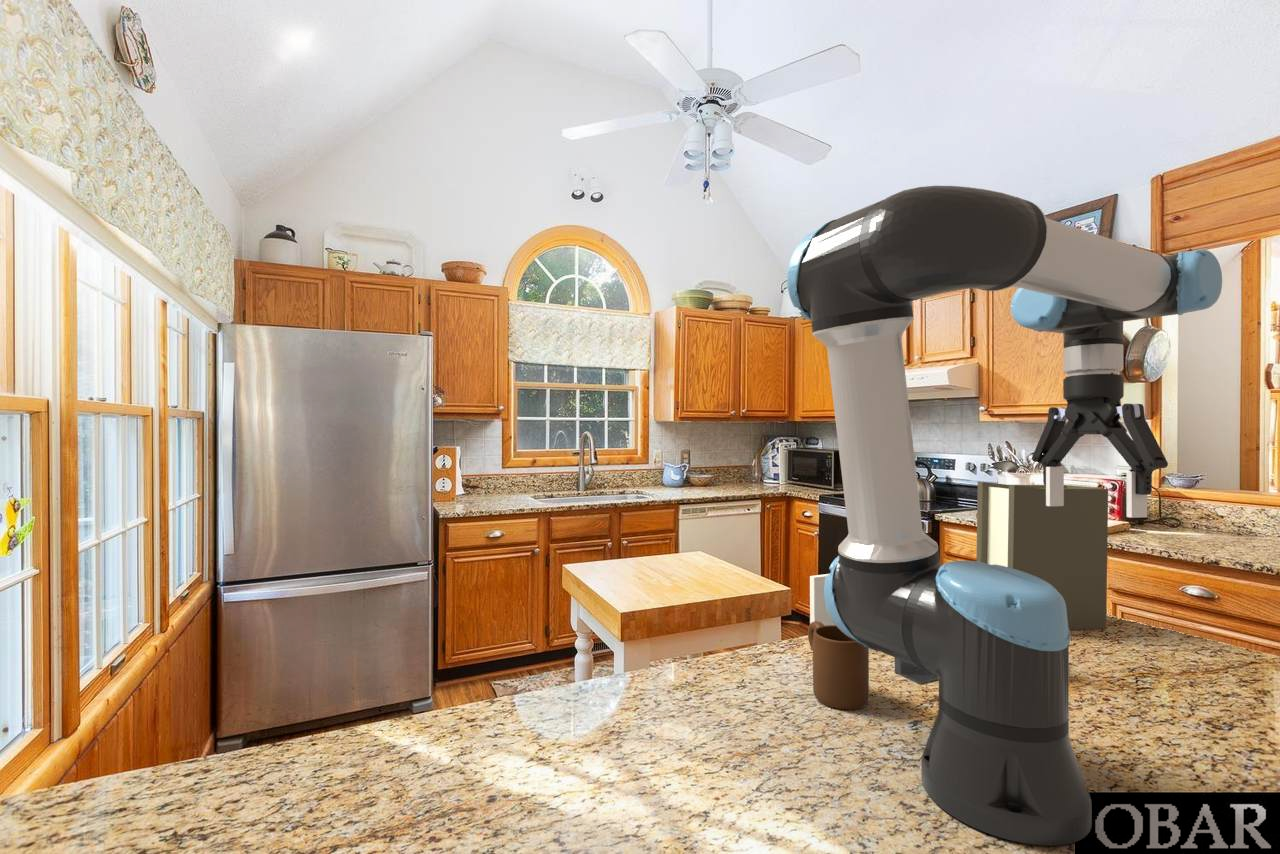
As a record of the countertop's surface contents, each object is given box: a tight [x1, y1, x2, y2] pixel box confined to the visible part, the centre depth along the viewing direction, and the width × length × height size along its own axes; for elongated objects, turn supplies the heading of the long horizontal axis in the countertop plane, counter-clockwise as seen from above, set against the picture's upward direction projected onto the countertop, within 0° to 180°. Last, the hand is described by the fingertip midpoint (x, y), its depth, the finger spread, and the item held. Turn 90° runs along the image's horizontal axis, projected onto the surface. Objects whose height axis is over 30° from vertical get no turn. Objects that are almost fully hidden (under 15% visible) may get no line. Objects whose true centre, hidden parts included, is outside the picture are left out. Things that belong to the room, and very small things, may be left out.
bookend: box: [894, 657, 938, 685], centre depth 95 cm, size 12×5×6 cm, turn 113°
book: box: [975, 480, 1109, 631], centre depth 118 cm, size 22×9×28 cm, turn 100°
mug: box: [807, 621, 870, 711], centre depth 88 cm, size 12×8×9 cm, turn 14°
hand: (1092, 511), depth 93 cm, fingers open, 13 cm apart
